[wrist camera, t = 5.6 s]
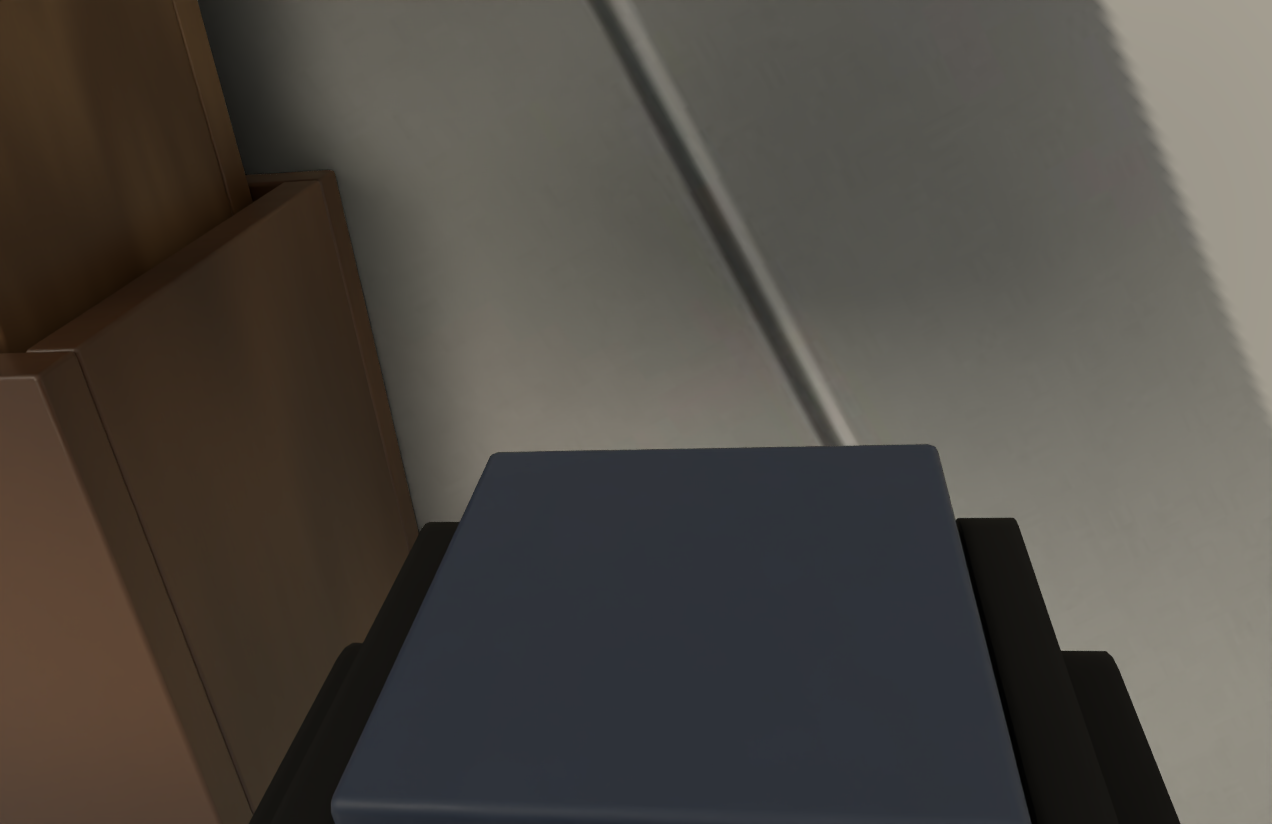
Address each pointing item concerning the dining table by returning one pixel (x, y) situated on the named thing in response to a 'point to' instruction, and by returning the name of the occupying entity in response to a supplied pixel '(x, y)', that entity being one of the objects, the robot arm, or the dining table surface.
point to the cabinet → (193, 521)
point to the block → (695, 650)
